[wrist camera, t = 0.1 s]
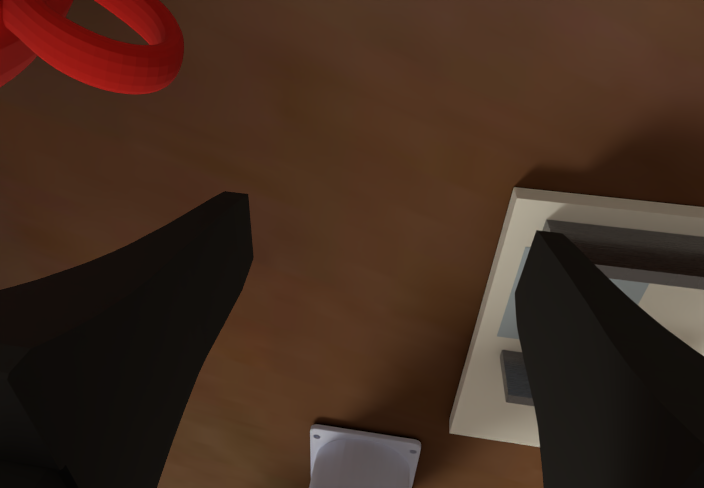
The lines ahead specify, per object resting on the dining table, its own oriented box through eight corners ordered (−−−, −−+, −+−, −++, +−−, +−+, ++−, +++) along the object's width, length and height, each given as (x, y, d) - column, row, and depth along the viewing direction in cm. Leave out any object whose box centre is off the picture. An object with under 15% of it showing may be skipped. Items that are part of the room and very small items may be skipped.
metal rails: (745, 464, 29) (772, 515, 27) (476, 423, 30) (480, 468, 28) (944, 263, 20) (1014, 313, 17) (546, 219, 21) (559, 260, 19)
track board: (739, 463, 31) (748, 479, 30) (449, 419, 32) (449, 433, 31) (964, 234, 20) (987, 249, 19) (513, 187, 22) (516, 198, 21)
